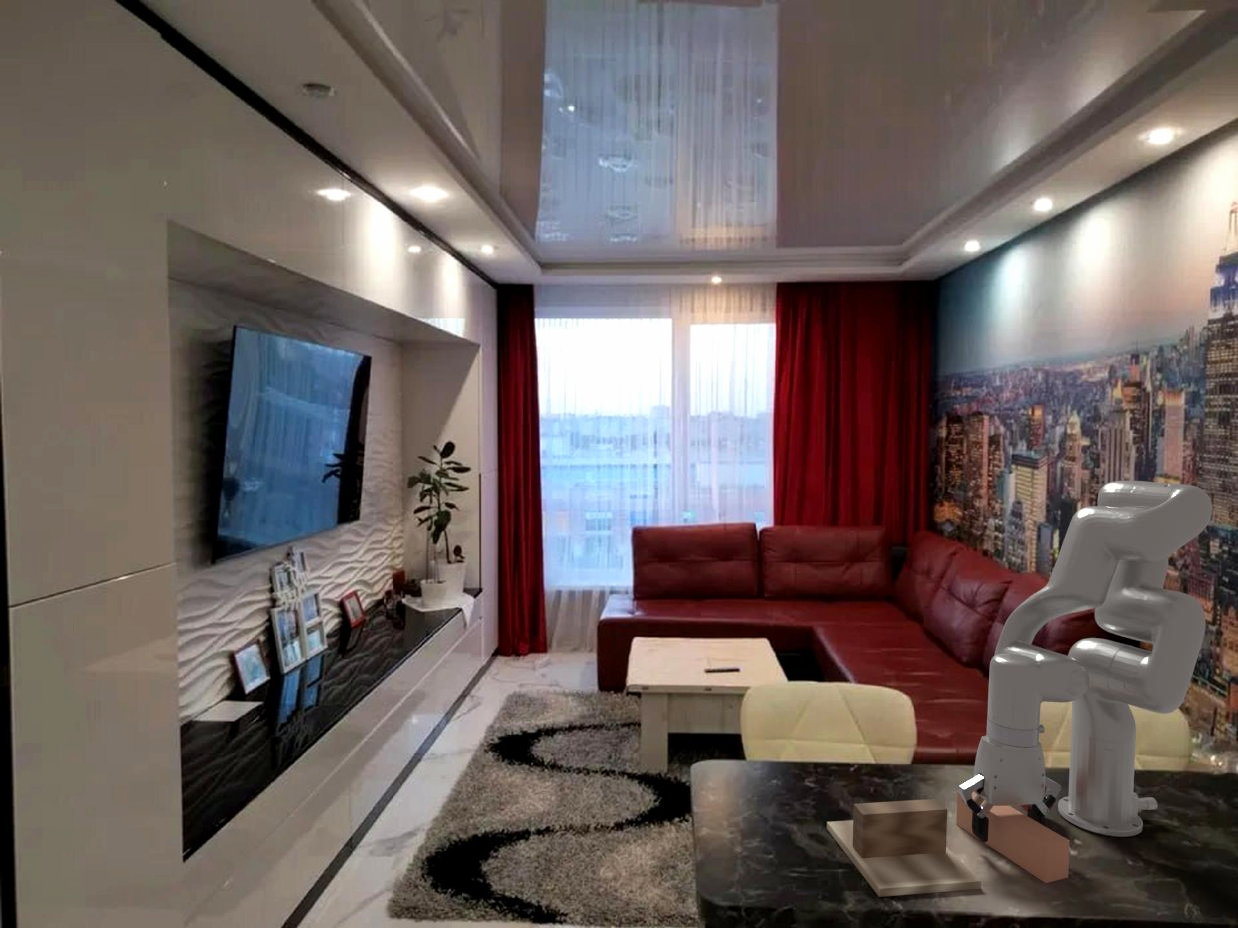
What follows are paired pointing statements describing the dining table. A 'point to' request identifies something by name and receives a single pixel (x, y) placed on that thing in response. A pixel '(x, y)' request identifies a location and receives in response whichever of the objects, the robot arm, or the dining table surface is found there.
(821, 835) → the dining table surface
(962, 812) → the beam
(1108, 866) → the dining table surface
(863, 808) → the stand
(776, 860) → the dining table surface
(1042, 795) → the robot arm
